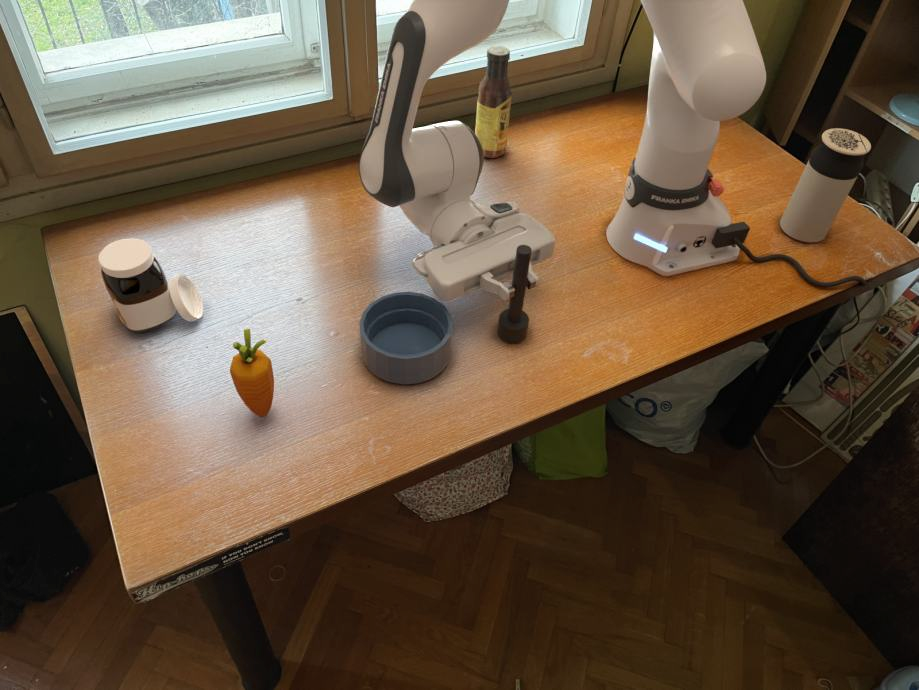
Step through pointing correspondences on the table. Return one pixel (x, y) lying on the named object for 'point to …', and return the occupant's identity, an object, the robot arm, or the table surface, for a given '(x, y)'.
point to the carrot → (253, 376)
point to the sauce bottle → (494, 103)
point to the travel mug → (824, 184)
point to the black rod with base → (516, 301)
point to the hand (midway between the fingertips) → (522, 290)
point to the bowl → (406, 337)
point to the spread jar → (145, 287)
